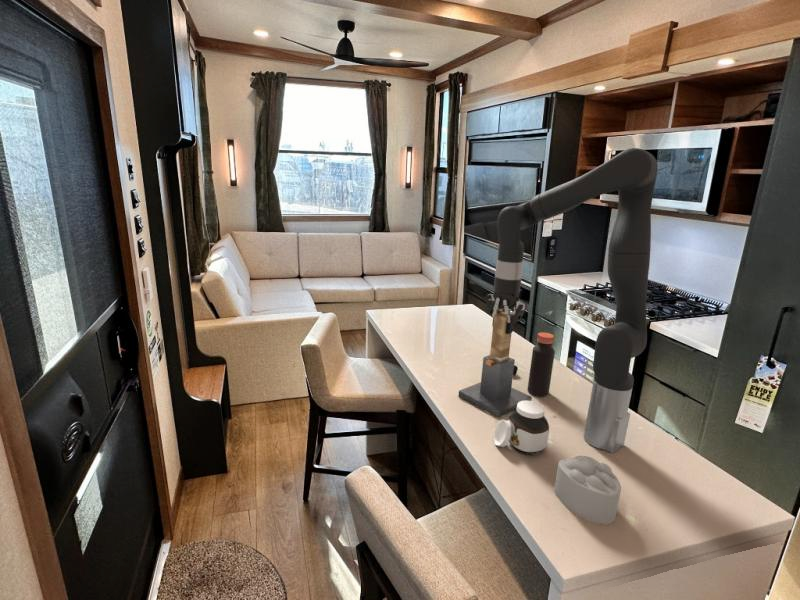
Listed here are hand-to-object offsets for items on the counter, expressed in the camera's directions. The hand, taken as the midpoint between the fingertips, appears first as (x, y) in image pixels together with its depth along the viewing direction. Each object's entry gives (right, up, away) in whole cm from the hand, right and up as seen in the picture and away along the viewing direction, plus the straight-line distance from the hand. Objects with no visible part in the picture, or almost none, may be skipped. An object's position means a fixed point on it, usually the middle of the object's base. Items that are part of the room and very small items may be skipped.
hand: (502, 331), depth 135 cm
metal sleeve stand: (-1, -22, +6) cm, 23 cm away
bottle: (+15, -21, +12) cm, 28 cm away
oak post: (-1, -14, +4) cm, 15 cm away
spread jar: (0, -29, -18) cm, 34 cm away
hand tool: (+7, -15, +33) cm, 37 cm away
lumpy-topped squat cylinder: (+10, -35, -37) cm, 52 cm away
